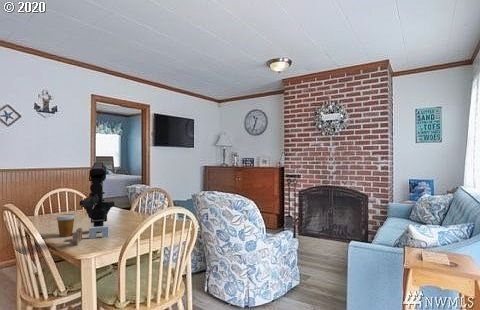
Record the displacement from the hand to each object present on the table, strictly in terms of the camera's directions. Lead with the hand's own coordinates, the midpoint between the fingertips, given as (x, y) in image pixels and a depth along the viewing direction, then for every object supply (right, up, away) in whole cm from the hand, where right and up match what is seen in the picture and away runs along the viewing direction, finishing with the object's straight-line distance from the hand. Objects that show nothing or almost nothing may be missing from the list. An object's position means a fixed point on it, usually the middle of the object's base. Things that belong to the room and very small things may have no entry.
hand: (96, 218), depth 159 cm
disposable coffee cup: (-24, -13, +11) cm, 30 cm away
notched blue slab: (-3, -13, +8) cm, 15 cm away
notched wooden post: (-10, -13, -1) cm, 16 cm away
